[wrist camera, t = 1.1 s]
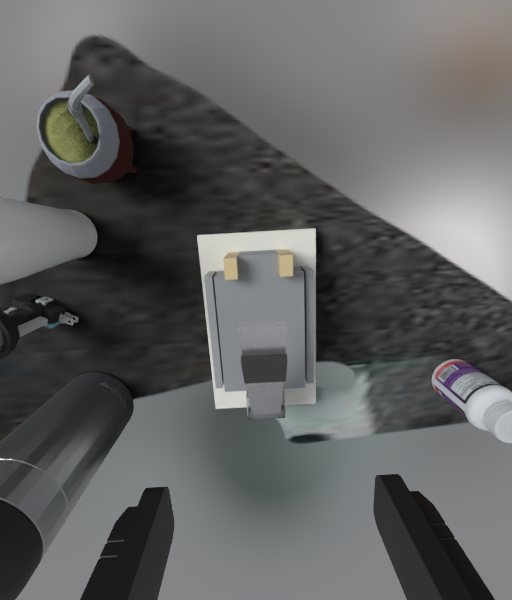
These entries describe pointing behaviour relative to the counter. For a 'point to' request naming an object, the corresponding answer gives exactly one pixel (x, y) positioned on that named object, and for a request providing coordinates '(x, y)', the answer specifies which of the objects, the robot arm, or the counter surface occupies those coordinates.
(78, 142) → the mate gourd
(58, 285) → the counter surface
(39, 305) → the push button
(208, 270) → the base
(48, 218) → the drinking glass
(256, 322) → the latch bar
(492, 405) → the pill bottle
